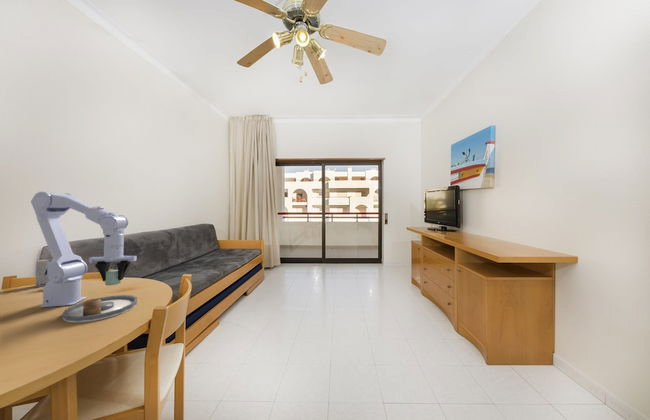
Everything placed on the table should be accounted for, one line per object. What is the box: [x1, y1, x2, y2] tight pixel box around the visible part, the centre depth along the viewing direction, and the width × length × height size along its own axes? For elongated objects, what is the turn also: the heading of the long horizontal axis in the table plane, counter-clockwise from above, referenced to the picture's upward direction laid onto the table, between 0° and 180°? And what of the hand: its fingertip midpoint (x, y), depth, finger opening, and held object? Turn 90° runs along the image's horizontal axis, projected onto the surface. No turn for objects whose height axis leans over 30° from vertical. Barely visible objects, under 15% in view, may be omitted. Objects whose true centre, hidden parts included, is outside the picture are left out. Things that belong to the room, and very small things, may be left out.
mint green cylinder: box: [104, 269, 122, 287], centre depth 91 cm, size 4×4×5 cm
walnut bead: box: [82, 297, 101, 316], centre depth 79 cm, size 4×4×5 cm
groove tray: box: [61, 294, 138, 324], centre depth 85 cm, size 20×20×2 cm
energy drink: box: [35, 258, 53, 288], centre depth 109 cm, size 5×5×12 cm
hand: (113, 280), depth 91 cm, fingers closed on mint green cylinder, 4 cm apart
